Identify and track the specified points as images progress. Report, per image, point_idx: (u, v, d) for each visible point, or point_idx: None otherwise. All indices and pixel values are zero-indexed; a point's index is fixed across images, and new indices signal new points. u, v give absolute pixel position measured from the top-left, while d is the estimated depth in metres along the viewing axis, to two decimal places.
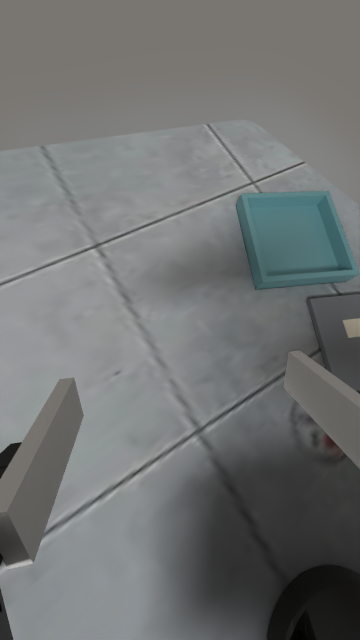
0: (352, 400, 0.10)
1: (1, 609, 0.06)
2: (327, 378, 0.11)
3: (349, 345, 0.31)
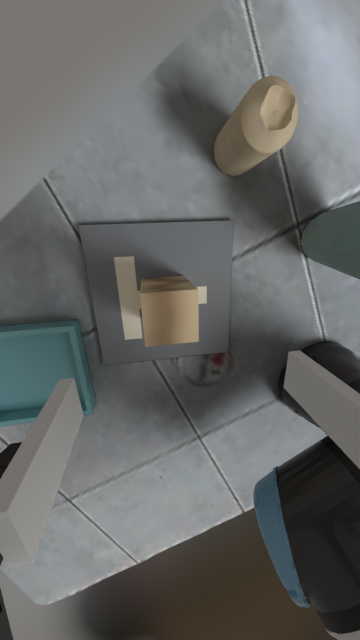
0: (352, 400, 0.10)
1: (1, 609, 0.06)
2: (327, 378, 0.11)
3: None
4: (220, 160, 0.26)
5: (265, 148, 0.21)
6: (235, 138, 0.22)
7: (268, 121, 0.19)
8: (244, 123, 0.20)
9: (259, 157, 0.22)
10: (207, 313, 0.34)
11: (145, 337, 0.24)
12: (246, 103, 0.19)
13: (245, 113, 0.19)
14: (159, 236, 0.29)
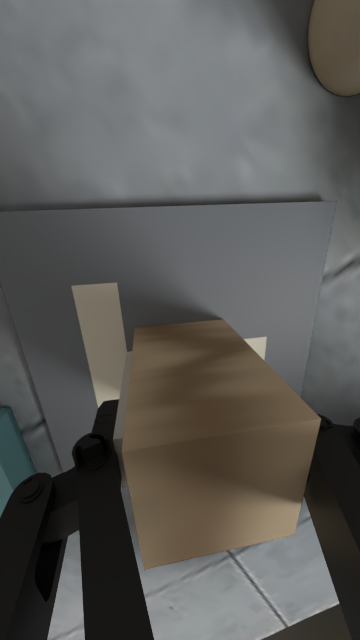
0: None
1: None
2: None
3: None
4: (335, 39, 0.10)
5: None
6: None
7: None
8: None
9: None
10: None
11: (144, 551, 0.08)
12: None
13: None
14: (174, 238, 0.13)
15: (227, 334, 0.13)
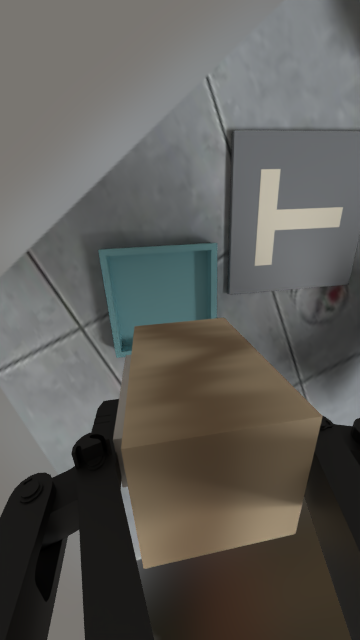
0: None
1: None
2: None
3: (277, 265, 0.33)
4: None
5: None
6: None
7: None
8: None
9: None
10: (337, 238, 0.33)
11: (143, 550, 0.08)
12: None
13: None
14: (308, 147, 0.28)
15: (227, 332, 0.13)
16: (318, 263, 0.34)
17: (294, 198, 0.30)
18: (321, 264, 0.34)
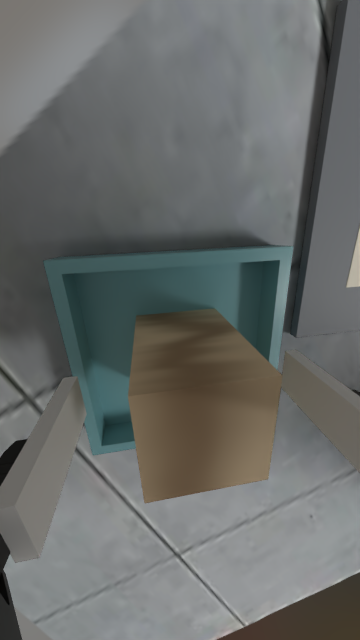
0: (347, 399, 0.10)
1: (8, 602, 0.06)
2: (323, 377, 0.11)
3: None
4: None
5: None
6: None
7: None
8: None
9: None
10: None
11: (144, 486, 0.10)
12: None
13: None
14: None
15: (216, 319, 0.15)
16: None
17: None
18: None
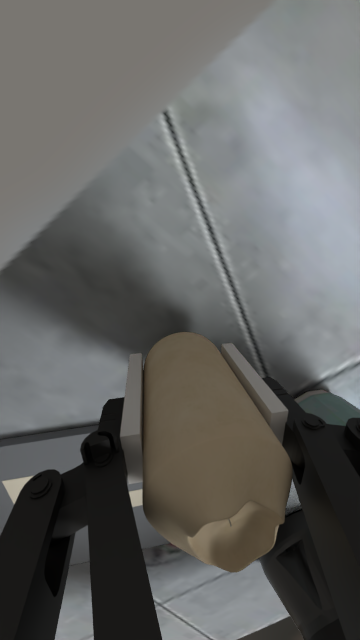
0: (252, 383, 0.11)
1: None
2: (242, 366, 0.13)
3: (75, 545, 0.25)
4: None
5: None
6: None
7: (213, 530, 0.07)
8: (154, 527, 0.08)
9: None
10: None
11: None
12: (153, 501, 0.07)
13: (152, 517, 0.07)
14: (69, 450, 0.20)
15: None
16: None
17: None
18: (139, 533, 0.26)
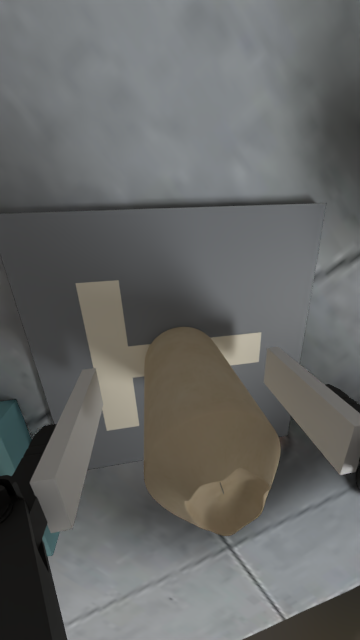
0: (318, 392, 0.10)
1: (47, 569, 0.07)
2: (299, 372, 0.12)
3: None
4: None
5: None
6: None
7: (208, 499, 0.08)
8: (154, 497, 0.08)
9: None
10: (258, 378, 0.18)
11: None
12: (153, 471, 0.08)
13: (152, 487, 0.08)
14: (172, 238, 0.14)
15: None
16: None
17: (162, 326, 0.16)
18: None
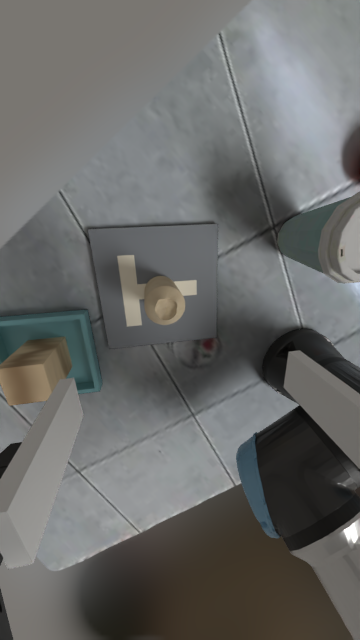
0: (352, 400, 0.10)
1: (1, 609, 0.06)
2: (327, 378, 0.11)
3: (148, 325, 0.40)
4: None
5: (164, 324, 0.30)
6: None
7: (162, 312, 0.29)
8: (147, 313, 0.30)
9: None
10: (197, 303, 0.40)
11: (7, 399, 0.31)
12: (146, 302, 0.29)
13: (146, 308, 0.29)
14: (155, 237, 0.35)
15: (56, 343, 0.36)
16: (184, 322, 0.40)
17: (151, 275, 0.37)
18: (187, 323, 0.41)
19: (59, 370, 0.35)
